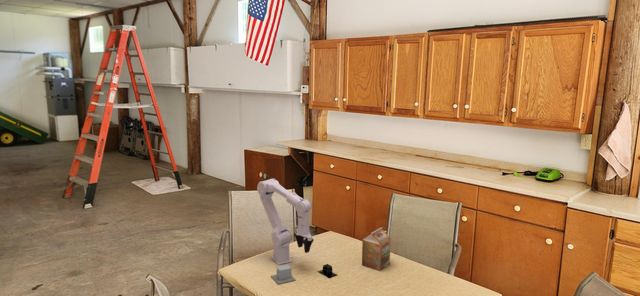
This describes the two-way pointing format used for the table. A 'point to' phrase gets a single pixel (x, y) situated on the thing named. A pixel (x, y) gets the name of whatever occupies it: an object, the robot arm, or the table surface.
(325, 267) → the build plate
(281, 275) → the brick
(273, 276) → the mat
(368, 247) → the milk carton
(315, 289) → the table surface
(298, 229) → the robot arm
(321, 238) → the table surface
